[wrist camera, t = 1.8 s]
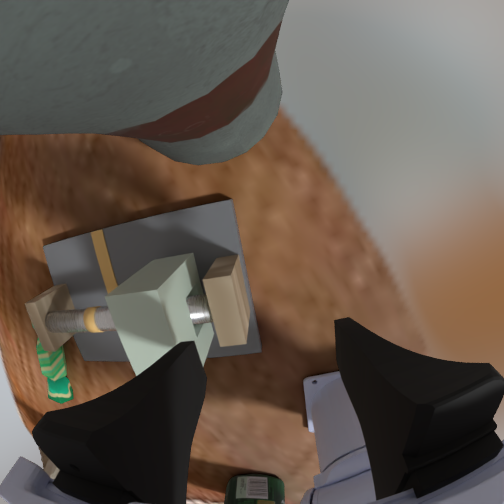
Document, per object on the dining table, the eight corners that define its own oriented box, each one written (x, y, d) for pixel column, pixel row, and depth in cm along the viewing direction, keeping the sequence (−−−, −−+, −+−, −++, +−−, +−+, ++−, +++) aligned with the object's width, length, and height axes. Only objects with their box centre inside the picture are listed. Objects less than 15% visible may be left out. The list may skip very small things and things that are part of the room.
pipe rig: (232, 198, 20) (220, 204, 14) (261, 345, 23) (260, 389, 17) (49, 244, 21) (9, 259, 16) (88, 355, 24) (61, 386, 19)
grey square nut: (193, 252, 19) (156, 289, 12) (214, 333, 20) (194, 395, 13) (153, 259, 19) (104, 296, 12) (176, 337, 20) (145, 394, 14)
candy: (32, 299, 22) (27, 320, 19) (61, 300, 24) (58, 321, 21) (48, 381, 25) (48, 404, 22) (72, 382, 27) (74, 405, 24)
